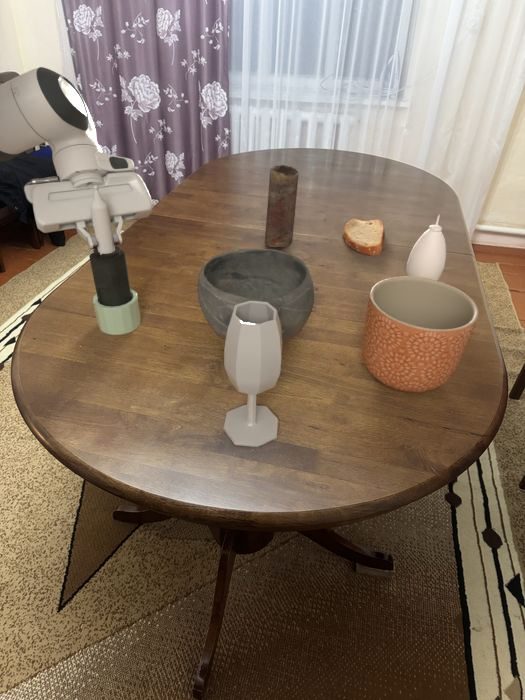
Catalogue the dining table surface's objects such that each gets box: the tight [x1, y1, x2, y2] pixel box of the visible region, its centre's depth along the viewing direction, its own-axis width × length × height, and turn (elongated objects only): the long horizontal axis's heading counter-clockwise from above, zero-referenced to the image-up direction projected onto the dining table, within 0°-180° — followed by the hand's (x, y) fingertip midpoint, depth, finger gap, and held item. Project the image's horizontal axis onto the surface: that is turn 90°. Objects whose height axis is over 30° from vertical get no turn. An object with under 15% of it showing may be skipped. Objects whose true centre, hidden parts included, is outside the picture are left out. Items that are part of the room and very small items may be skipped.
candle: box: [88, 185, 132, 307], centre depth 84 cm, size 5×5×25 cm
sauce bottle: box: [405, 214, 447, 281], centre depth 104 cm, size 8×8×18 cm
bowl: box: [197, 248, 315, 344], centre depth 87 cm, size 21×21×15 cm
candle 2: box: [264, 164, 300, 249], centre depth 120 cm, size 8×7×20 cm
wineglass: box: [222, 301, 284, 448], centre depth 66 cm, size 9×9×21 cm
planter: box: [361, 275, 480, 393], centre depth 79 cm, size 17×17×15 cm
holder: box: [92, 288, 142, 336], centre depth 92 cm, size 8×8×6 cm
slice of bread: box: [342, 218, 386, 257], centre depth 131 cm, size 18×18×4 cm
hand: (106, 245), depth 83 cm, fingers closed on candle, 3 cm apart
